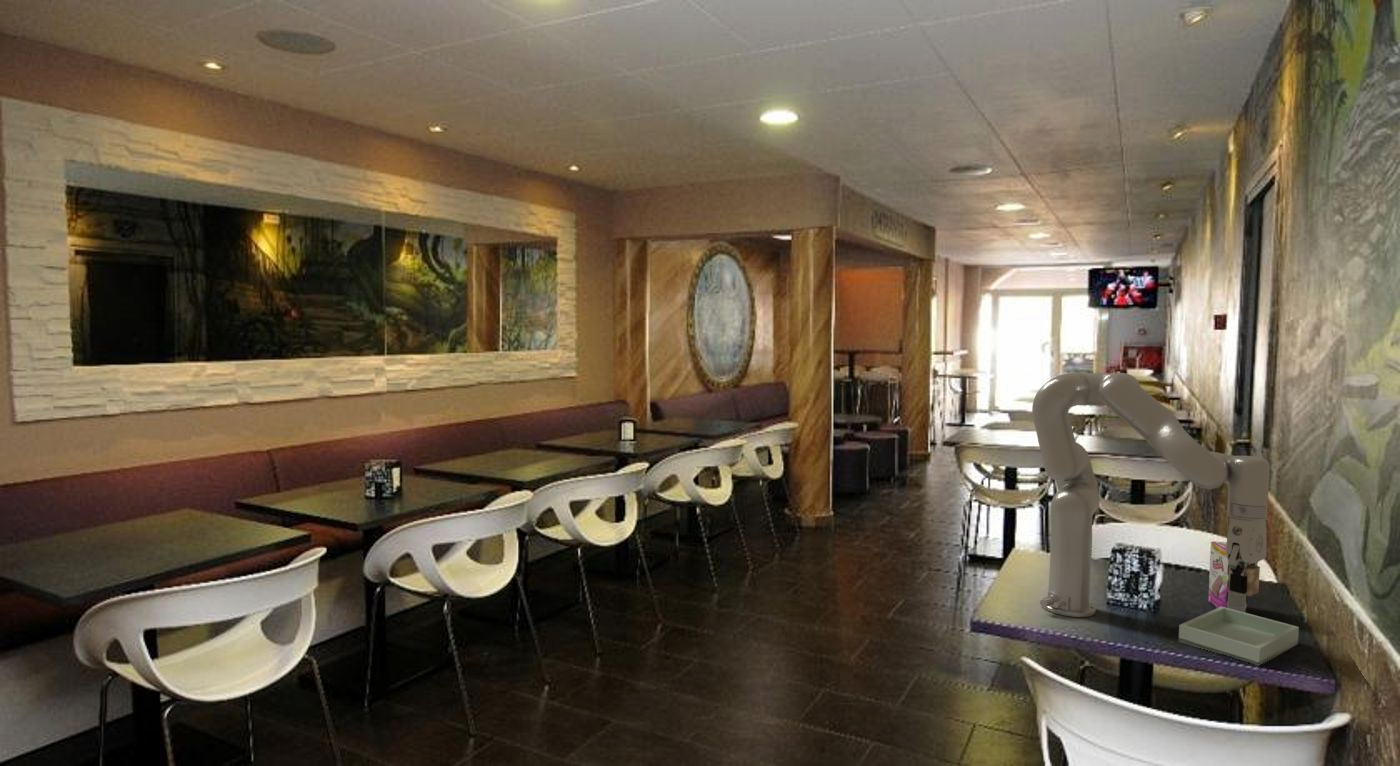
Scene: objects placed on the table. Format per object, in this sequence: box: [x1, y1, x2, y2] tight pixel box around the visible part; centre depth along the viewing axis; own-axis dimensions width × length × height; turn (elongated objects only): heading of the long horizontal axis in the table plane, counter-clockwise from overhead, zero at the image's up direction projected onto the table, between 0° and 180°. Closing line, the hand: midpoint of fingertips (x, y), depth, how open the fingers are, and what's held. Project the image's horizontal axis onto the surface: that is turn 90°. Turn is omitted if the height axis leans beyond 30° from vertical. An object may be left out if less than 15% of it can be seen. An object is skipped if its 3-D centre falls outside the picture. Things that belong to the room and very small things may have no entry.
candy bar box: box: [1207, 540, 1248, 613], centre depth 204 cm, size 11×5×16 cm, turn 168°
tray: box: [1178, 606, 1300, 667], centre depth 183 cm, size 22×16×4 cm
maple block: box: [1228, 564, 1261, 597], centre depth 181 cm, size 4×4×6 cm
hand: (1242, 589), depth 182 cm, fingers closed on maple block, 4 cm apart
